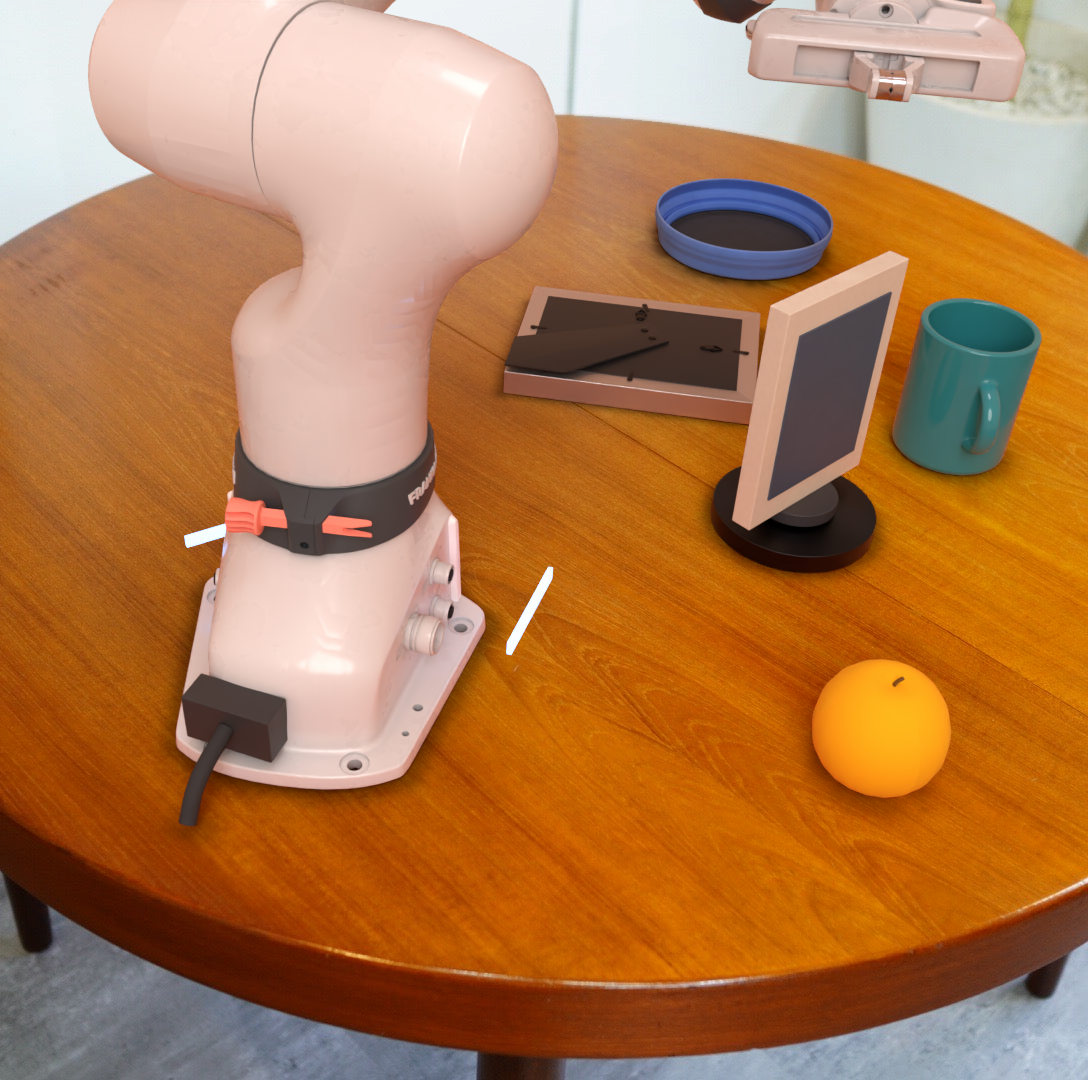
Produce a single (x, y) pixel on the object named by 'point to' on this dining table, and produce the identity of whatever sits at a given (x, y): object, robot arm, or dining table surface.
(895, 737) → the orange
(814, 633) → the dining table surface
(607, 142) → the dining table surface
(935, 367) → the cup
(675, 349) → the picture frame
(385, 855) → the dining table surface
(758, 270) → the bowl
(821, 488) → the photo frame
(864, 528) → the swivel base
